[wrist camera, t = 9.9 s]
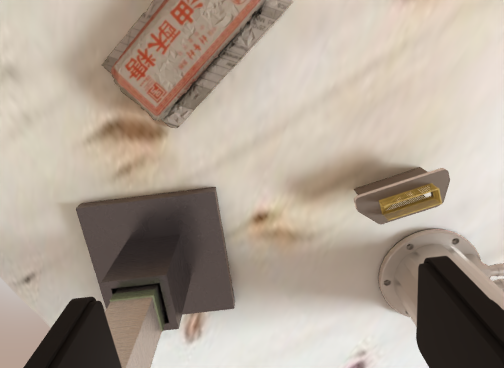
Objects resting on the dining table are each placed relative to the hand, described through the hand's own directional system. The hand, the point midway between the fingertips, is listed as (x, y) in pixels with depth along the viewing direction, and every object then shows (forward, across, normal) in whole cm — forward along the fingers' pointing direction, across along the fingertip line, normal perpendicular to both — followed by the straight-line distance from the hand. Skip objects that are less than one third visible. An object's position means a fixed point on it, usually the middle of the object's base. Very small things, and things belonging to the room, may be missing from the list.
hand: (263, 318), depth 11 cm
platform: (+33, -15, +9) cm, 38 cm away
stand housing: (+32, +13, +15) cm, 38 cm away
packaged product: (+33, +4, -10) cm, 35 cm away
